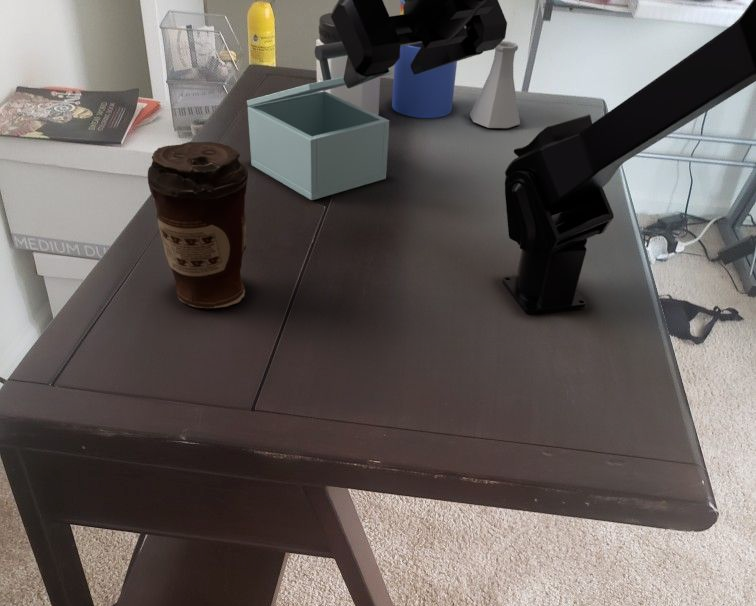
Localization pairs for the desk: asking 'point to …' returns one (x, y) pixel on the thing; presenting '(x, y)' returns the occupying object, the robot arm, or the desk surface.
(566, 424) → the desk surface
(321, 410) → the desk surface
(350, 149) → the pale teal lidded box
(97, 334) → the desk surface
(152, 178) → the coffee cup
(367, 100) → the jar
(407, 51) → the water bottle
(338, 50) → the lid
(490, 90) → the flask
